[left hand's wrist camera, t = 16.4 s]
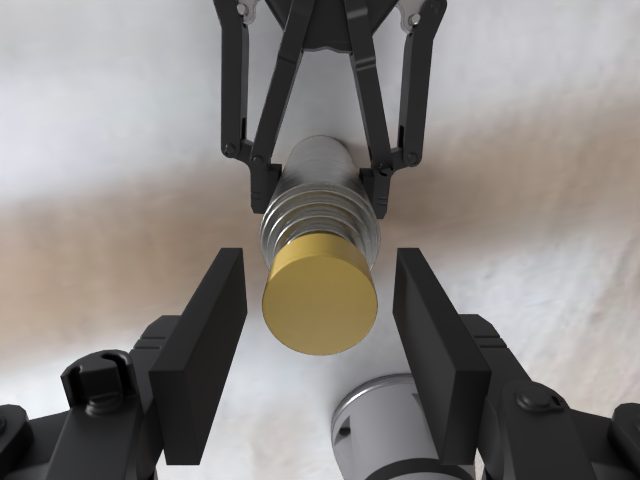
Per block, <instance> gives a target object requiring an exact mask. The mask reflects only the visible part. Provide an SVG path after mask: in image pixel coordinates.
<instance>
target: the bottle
mask: <svg viewBox="0 0 640 480" xmlns="http://www.w3.org/2000/svg"><path fill="white" fill-rule="evenodd" d="M317 233H321V234H331V235H335V236H338V237H341V238H343V239H345V240H347V241H349V242H350V243H352V244H353V245H354V246H356V247H357V248H358V249H359V250H360V252H361V253H362V254H363V255H364V257H365V259H366V261H367V263H368V266H369V269H370V271H371V270H372V268H373V266H374V264H375V261H376V258H377V255H378V252H379V248H380V238H381V237H380V228H379V224H378V221H377V218H376V215H375V213H374V211H373V208H372V206H371V204H370V201H369V199H368V196H367V194H366V192H365V189H364V187H363V184H362V182H361V180H360V177H359V175H358V173H357V170H356V168H355V165H354V163H353V161H352V158H351V156H350V154H349V152H348V150H347V149H346V148H345V147H344V146H343V144H341V143H340V142H339V141H337V140H335V139H333V138H331V137H327V136H313V137H309V138H307V139H304V140H303V141H301V142H300V143H299V144H297V145H296V146H295V147H294V149H293V150H292V152H291V154H290V156H289V158H288V160H287V163H286V165H285V167H284V170H283V172H282V175H281V177H280V179H279V182H278V184H277V186H276V189H275V191H274V194H273V196H272V198H271V201H270V203H269V205H268V208H267V210H266V213H265V215H264V218H263V220H262V223H261V227H260V234H259V242H260V249H261V253H262V256H263V259H264V262H265V264H266V266H267V268H268V270H269V271H270V268H271V265H272V262H273V260H274V258H275V257H276V255H277V254H278V252H279V251H280V250H281V249H282V248H283V247H284V246H285V245H287V244H288V243H289V242H291V241H293V240H295V239H297V238H299V237H302V236H305V235H309V234H317Z"/></svg>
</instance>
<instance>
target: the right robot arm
mask: <svg viewBox="0 0 640 480" xmlns="http://www.w3.org/2000/svg"><path fill="white" fill-rule="evenodd" d="M259 1H260V0H213V2H214V5H215V8H216V12H217V15H218V18H219V21H220V25H221V28H222V64H221V150H222V153H223V154H224V155H225V156H226V157H228V158H235V159H237V160H240V161H242V162H244V163H246V164H247V165H248V167H249V169H250V173H251V207H252V210H253V212H254V213H259V214H265V213H266V210H267V208H268V205H269V203H270V201H271V198H272V196H273V194H274V191H275V189H276V186H277V184H278V182H279V179H280V177H281V175H282V164H271V157H272V154H273V150H274V147H275V144H276V140H277V137H278V134H279V130H280V127H281V124H282V121H283V117H284V114H285V111H286V107H287V104H288V101H289V98H290V94H291V91H292V88H293V84H294V81H295V78H296V74H297V71H298V68H299V65H300V63H301V60H302V56H303V53H304V51H312V52H315V51H319V50H323V49H329V50H332V51H335V52H338V53H349V57H350V62H351V66H352V70H353V74H354V79H355V84H356V89H357V94H358V99H359V104H360V110H361V115H362V120H363V125H364V130H365V135H366V140H367V145H368V150H369V156H370V161H371V169H370V168H360V171H359V177H360V180H361V182H362V184H363V187H364V189H365V192H366V194H367V196H368V199H369V201H370V204H371V206H372V208H373V211H374V213H375V215H376V218H377V219H383V218H384V216H385V214H386V211H387V203H388V194H389V186H390V179H391V176H392V175H393V174H394V172H395V171H396V170H399V169H402V168H405V167H408V166H409V167H415V166H417V165H418V164H419V163H420V162H421V159H422V150H423V140H424V129H425V119H426V109H427V98H428V88H429V77H430V67H431V57H432V46H433V39H434V37H435V34H436V32H437V30H438V27H439V25H440V23H441V20H442V18H443V16H444V13H445V11H446V8H447V0H265V2H266V3H267V5H268V7H269V8H270V10H271V12H272V13H273V15H274V16H275V18H276V20H277V21H278V23H279V25H280V26H281V28H282V30H283V31H284V34H283V37H282V41H281V44H280V48H279V52H278V57H277V62H276V65H275V69H274V73H273V76H272V80H271V83H270V87H269V90H268V94H267V97H266V101H265V104H264V108H263V111H262V115H261V118H260V122H259V126H258V129H257V133H256V136H255V140H254V142H251V141H249V140H247V139H246V134H247V100H248V65H249V33H248V26H247V25H248V24H251V23H252V22H253V21H254V20H255V17H256V5H257V3H258V2H259ZM394 7H396V8H398V9H399V11H400V13H401V23H400V25H401V28H402V30H403V31H404V32H405V33H407V37H406V42H405V47H404V57H403V71H402V85H401V99H400V112H399V126H398V140H397V147H395V148H392V149H390V144H389V138H388V132H387V126H386V121H385V115H384V109H383V103H382V98H381V92H380V86H379V81H378V75H377V69H376V57H375V51H374V45H373V39H372V36H373V34H374V33H375V32H376V30H377V29H378V28H379V26H380V25H381V24H382V22H383V21H384V20H385V18H386V17H387V16H388V15H389V13H390V12H391V11H392V9H393V8H394Z"/></svg>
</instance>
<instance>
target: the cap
mask: <svg viewBox="0 0 640 480" xmlns="http://www.w3.org/2000/svg"><path fill="white" fill-rule="evenodd" d="M377 307H378V303H377V296H376V291H375V288H374V284H373V280H372V276H371V273H370V269H369V266H368V263H367V261H366V259H365V257H364V255H363V254H362V253H361V252H360V250H359V249H358V248H357V247H356V246H354V245H353V244H352V243H350V242H349V241H347V240H345V239H343V238H341V237H338V236H335V235H331V234H321V233H317V234H309V235H305V236H302V237H299V238H297V239H295V240H293V241H291V242H289V243H288V244H287V245H285V246H284V247H283V248H282V249H281V250H280V251H279V252H278V254H277V255H276V257H275V258H274V260H273V262H272V265H271V268H270V272H269V276H268V279H267V283H266V287H265V291H264V294H263V300H262V311H263V316H264V319H265V322H266V324H267V326H268V328H269V330H270V331H271V332H272V334H273V335H274V336H275V337H276V338H277V339H278V340H279V341H280V342H281V343H282V344H284V345H286V346H287V347H289V348H291V349H293V350H295V351H298V352H301V353H304V354H309V355H330V354H336V353H339V352H342V351H345V350H347V349H349V348H351V347H353V346H354V345H356V344H357V343H358V342H360V341H361V340H362V339H363V338H364V337H365V336H366V335H367V333H368V332H369V331H370V329H371V327H372V326H373V324H374V321H375V319H376V315H377Z"/></svg>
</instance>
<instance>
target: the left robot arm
mask: <svg viewBox="0 0 640 480" xmlns="http://www.w3.org/2000/svg"><path fill="white" fill-rule="evenodd" d="M246 316H247V300H246V287H245V275H244V262H243V250H242V248H221V250H220V251H219V253H218V255H217V256H216V258H215V260H214V261H213V263H212V265H211V266H210V268H209V270H208V271H207V273H206V275H205V276H204V278H203V280H202V281H201V283H200V285H199V286H198V288H197V290H196V291H195V293H194V295H193V296H192V298H191V300H190V301H189V303H188V305H187V306H186V308H185V310H184V311H183V313H182V315H163V316H161V317H160V318H158V319H157V320H156V321H154V322H153V323H151V324H150V325H149V326H148V327H147V328H146V330H145V331H144V333H143V334H142V335H141V337H140V339H139V340H138V341H137V343H136V344H135V345H134V347H133V349H132V350H131V351H130V352H129V354H128V353H127V352H125V351H121V350H103V351H99V352H95V353H91V354H89V355H87V356H85V357H82V358H80V359H78V360H77V361H75V362H74V363H72V364H71V365H70V366H68V367H67V368H66V369H65V371H64V372H63V373H62V375H61V376H60V377H61V380H62V383H63V387H64V390H65V393H66V396H67V400H68V403H69V406H70V410H68V411H65V412H62V413H58V414H54V415H49V416H45V417H41V418H36V419H32V420H29V419H28V416H27V413H26V411H25V410H24V409H23V408H22V407H20V406H18V405H10V404H7V405H1V406H0V480H158V476H157V471H156V464H157V462H158V459H159V457H160V455H161V452H162V450H163V449H164V454H165V459H166V464H167V465H199V464H200V461H201V458H202V455H203V452H204V449H205V445H206V442H207V439H208V436H209V433H210V430H211V426H212V423H213V420H214V417H215V414H216V411H217V407H218V404H219V401H220V398H221V395H222V392H223V389H224V385H225V382H226V379H227V376H228V373H229V370H230V366H231V363H232V360H233V357H234V354H235V351H236V347H237V344H238V341H239V338H240V335H241V332H242V328H243V325H244V322H245V319H246ZM393 316H394V319H395V322H396V325H397V328H398V332H399V335H400V338H401V341H402V344H403V347H404V351H405V354H406V357H407V360H408V363H409V366H410V370H411V373H412V374H395V375H388V376H383V377H379V378H376V379H373V380H371V381H368V382H366V383H364V384H362V385H360V386H359V387H357V388H356V389H354V390H353V391H352V392H350V393H349V394H348V395H347V396H346V397H345V398H344V399H343V400H342V401H341V403H340V404H339V406H338V407H337V409H336V411H335V413H334V416H333V419H332V425H331V440H332V448H333V452H334V456H335V459H336V461H337V464H338V466H339V469H340V471H341V474H342V476H343V478H344V480H476V476H475V454H476V449H477V448H478V450H479V453H480V455H481V457H482V460H483V462H484V464H485V466H484V471H483V475H482V480H640V404H638V403H625V404H621V405H619V406H618V407H617V408H616V409H615V410H614V413H613V416H612V419H611V418H606V417H602V416H598V415H593V414H589V413H585V412H580V411H577V410H574V409H570V407H569V406H568V404H567V403H566V401H565V400H564V398H562V397H561V396H560V395H559V394H558V393H557V392H555V391H554V390H552V389H550V388H549V387H547V386H545V385H543V384H540V383H537V382H534V381H532V380H531V379H530V377H529V376H528V375H527V373H526V372H525V370H524V369H523V367H522V366H521V365H520V363H519V362H518V360H517V359H516V358H515V356H514V355H513V353H512V352H511V351H510V349H509V348H507V345H506V344H505V342H504V341H503V339H502V338H500V335H499V334H498V332H497V331H496V330H495V328H494V327H493V325H492V324H491V323H489V322H488V321H486V320H485V319H484V318H482V317H481V316H479V315H478V314H458V313H457V311H456V310H455V308H454V306H453V305H452V303H451V301H450V300H449V298H448V296H447V295H446V293H445V291H444V290H443V288H442V286H441V285H440V283H439V281H438V280H437V278H436V276H435V275H434V273H433V271H432V270H431V268H430V266H429V265H428V263H427V261H426V260H425V258H424V256H423V255H422V253H421V251H420V250H419V248H398V250H397V262H396V275H395V287H394V300H393Z"/></svg>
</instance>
